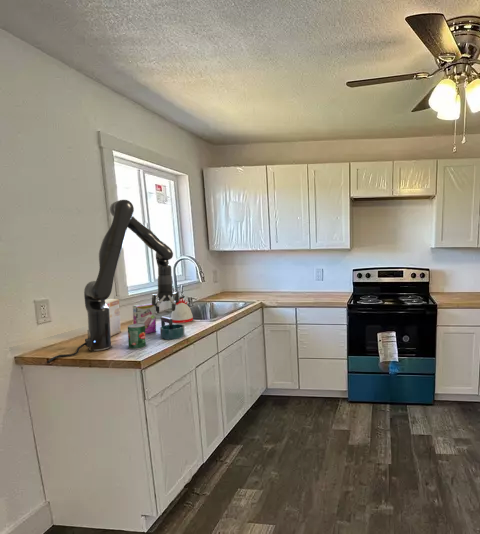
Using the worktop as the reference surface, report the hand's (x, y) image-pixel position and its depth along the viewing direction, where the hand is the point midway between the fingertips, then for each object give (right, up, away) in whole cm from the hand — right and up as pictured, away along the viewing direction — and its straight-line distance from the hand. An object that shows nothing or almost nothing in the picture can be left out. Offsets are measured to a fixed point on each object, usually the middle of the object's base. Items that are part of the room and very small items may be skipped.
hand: (165, 311), depth 195 cm
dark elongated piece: (+2, -12, 0) cm, 12 cm away
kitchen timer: (-2, -10, +34) cm, 36 cm away
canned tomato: (-5, -15, -23) cm, 28 cm away
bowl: (+6, -13, -5) cm, 15 cm away
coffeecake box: (-32, -13, -1) cm, 35 cm away
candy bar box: (-13, -13, +3) cm, 18 cm away
